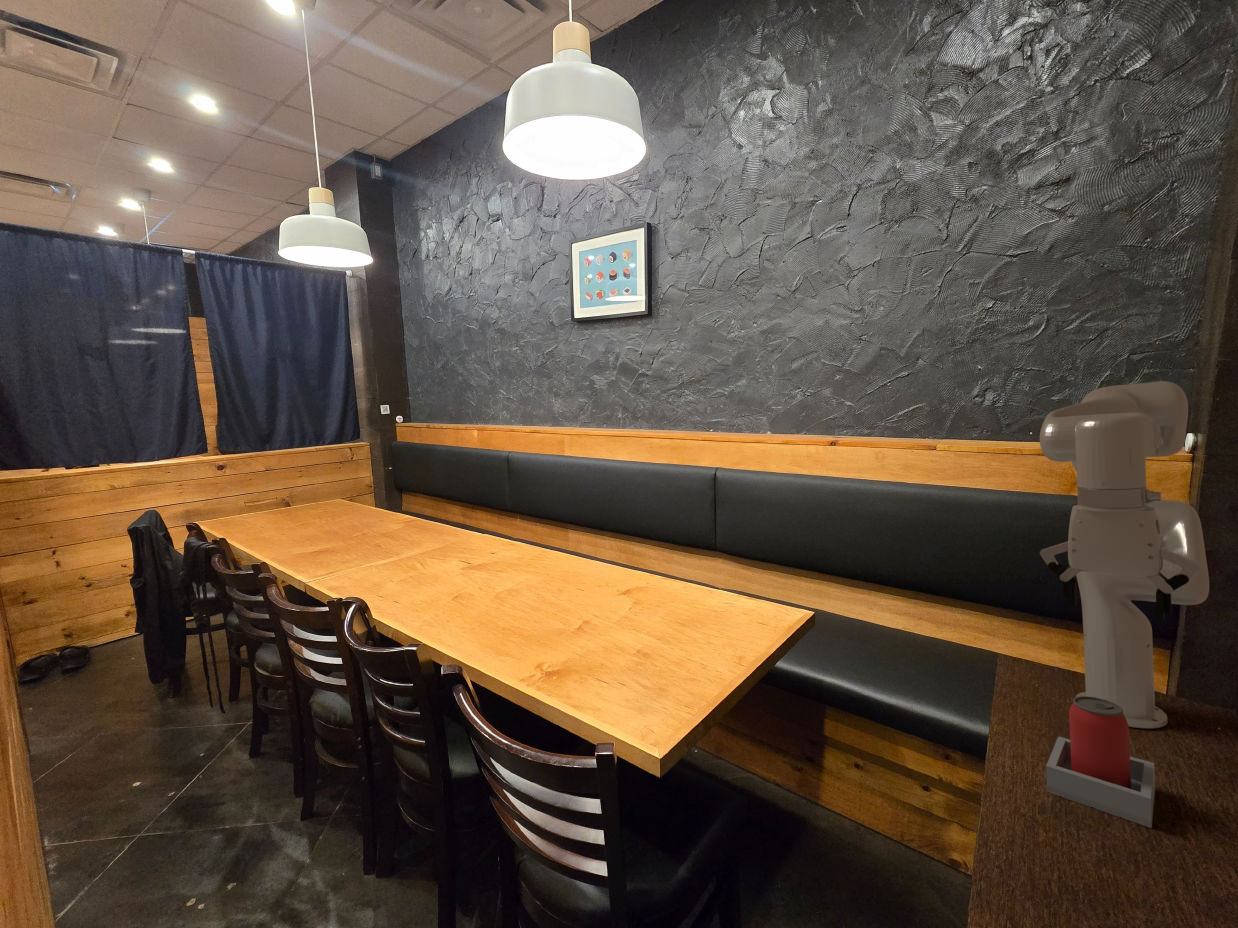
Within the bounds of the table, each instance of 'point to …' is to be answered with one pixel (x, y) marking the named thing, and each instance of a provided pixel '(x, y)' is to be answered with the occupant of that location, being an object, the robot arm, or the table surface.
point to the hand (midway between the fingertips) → (1115, 610)
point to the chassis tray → (1103, 787)
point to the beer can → (1100, 740)
